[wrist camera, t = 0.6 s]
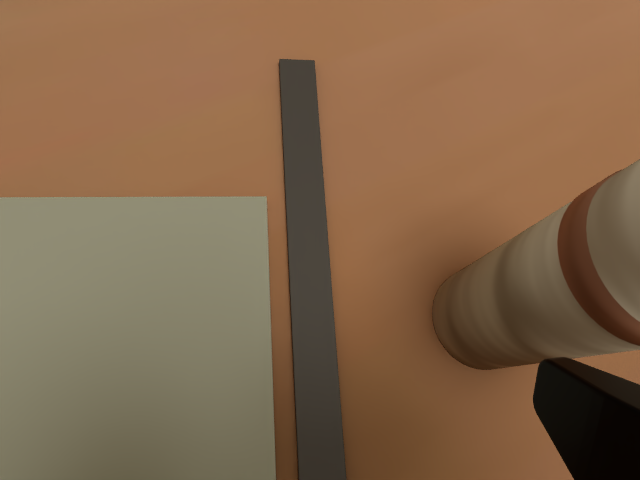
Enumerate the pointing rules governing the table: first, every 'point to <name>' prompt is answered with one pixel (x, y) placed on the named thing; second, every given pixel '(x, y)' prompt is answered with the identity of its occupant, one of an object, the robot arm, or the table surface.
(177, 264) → the mat
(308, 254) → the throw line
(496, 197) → the table surface
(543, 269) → the skittle
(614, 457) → the robot arm
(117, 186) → the table surface
